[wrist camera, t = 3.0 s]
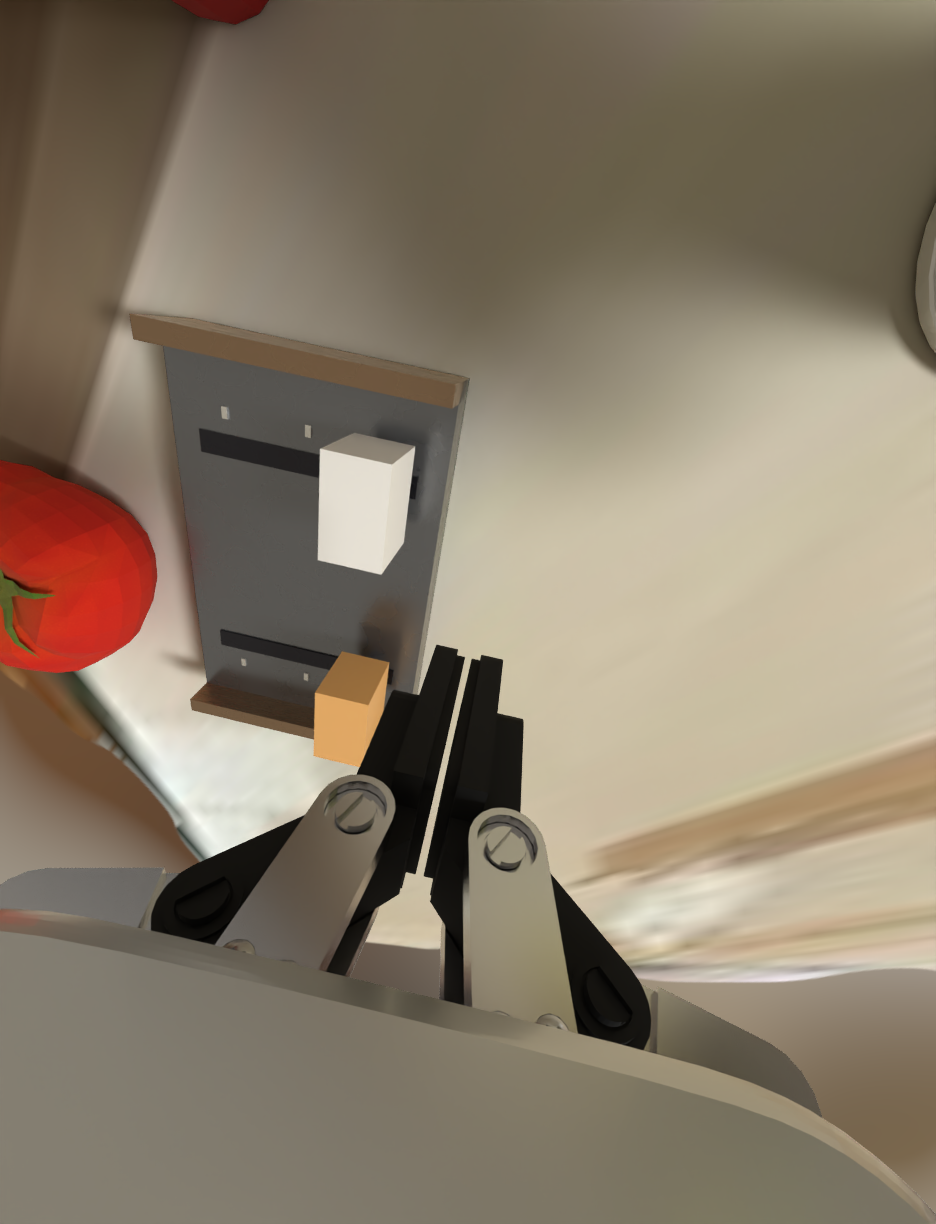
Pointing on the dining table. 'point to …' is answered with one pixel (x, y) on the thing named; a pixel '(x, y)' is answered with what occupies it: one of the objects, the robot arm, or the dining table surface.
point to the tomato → (67, 573)
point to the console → (297, 511)
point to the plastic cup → (224, 9)
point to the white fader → (363, 501)
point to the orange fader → (349, 708)
